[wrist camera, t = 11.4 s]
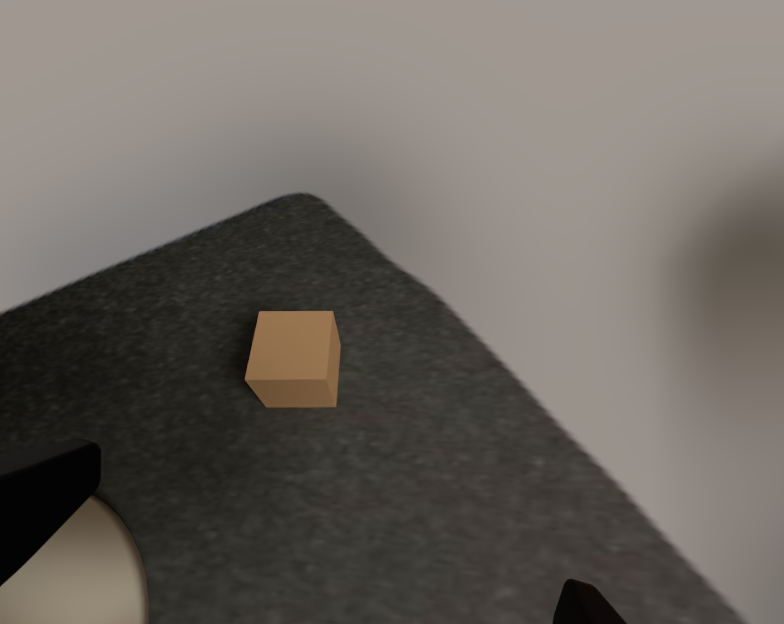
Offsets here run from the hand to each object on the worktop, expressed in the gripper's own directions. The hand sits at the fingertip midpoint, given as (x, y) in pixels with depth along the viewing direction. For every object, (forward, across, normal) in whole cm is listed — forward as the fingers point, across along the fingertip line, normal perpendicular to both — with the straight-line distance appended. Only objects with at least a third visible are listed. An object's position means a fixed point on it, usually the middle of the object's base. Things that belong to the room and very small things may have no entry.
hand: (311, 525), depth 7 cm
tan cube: (+15, +6, +4) cm, 17 cm away
